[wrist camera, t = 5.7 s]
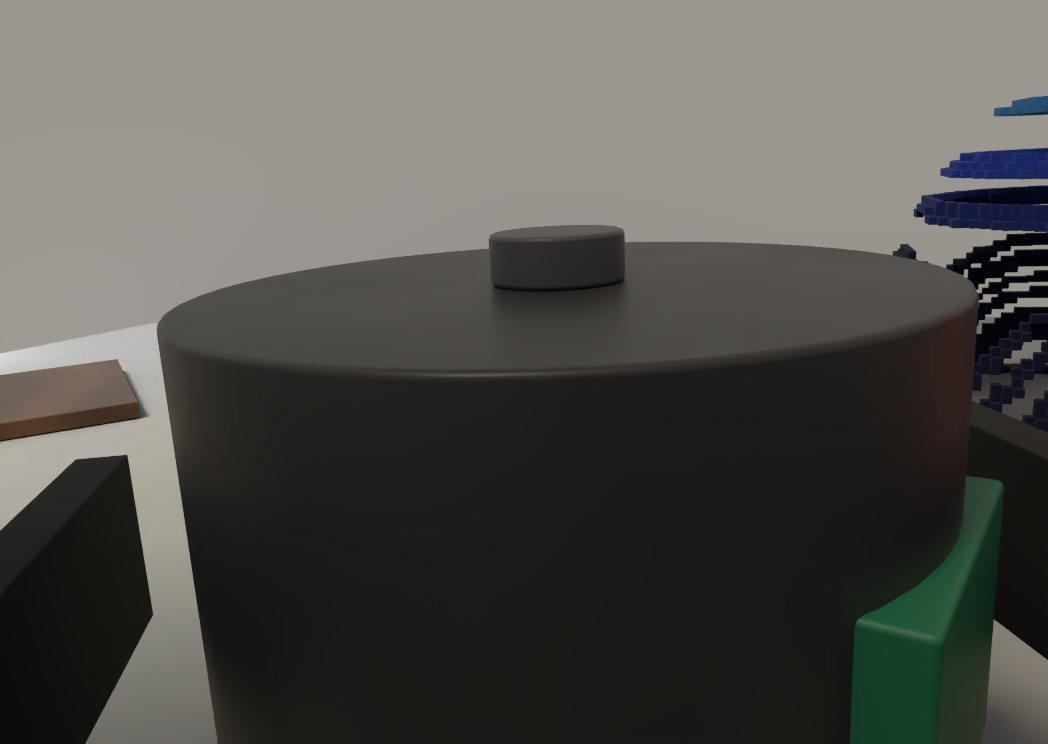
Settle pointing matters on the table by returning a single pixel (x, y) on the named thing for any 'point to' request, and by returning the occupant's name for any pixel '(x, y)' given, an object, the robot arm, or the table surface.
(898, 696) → the knobbed grey canister
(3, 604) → the robot arm
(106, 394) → the walnut board
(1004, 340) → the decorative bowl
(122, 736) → the table surface
